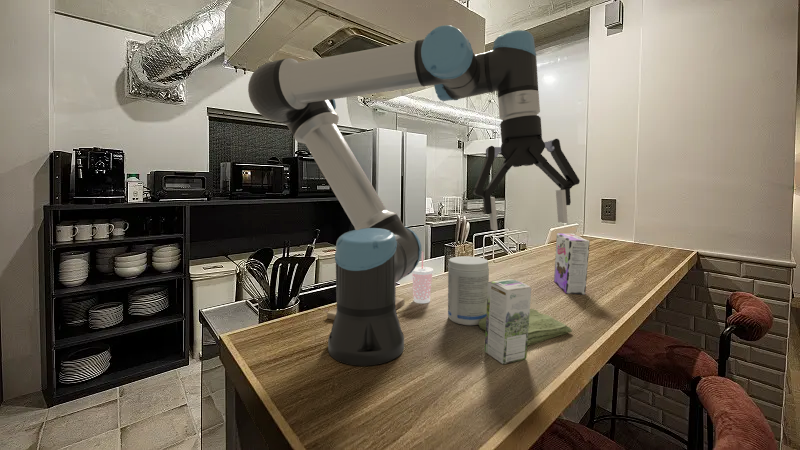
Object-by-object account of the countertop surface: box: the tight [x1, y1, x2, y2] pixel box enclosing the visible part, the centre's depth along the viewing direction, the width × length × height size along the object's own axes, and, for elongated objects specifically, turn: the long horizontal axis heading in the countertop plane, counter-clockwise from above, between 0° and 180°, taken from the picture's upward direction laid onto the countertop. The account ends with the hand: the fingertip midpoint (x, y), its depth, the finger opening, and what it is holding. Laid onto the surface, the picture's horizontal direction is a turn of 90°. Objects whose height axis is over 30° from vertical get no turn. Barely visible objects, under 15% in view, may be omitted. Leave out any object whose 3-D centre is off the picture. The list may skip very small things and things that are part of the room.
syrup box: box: [484, 278, 532, 365], centre depth 70 cm, size 6×6×14 cm
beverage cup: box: [411, 251, 434, 304], centre depth 102 cm, size 6×6×14 cm
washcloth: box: [477, 308, 573, 346], centre depth 83 cm, size 13×18×3 cm
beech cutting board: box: [326, 296, 405, 321], centre depth 94 cm, size 18×12×2 cm, turn 153°
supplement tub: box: [447, 255, 490, 326], centre depth 88 cm, size 10×10×15 cm
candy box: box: [553, 232, 591, 296], centre depth 115 cm, size 14×6×16 cm, turn 172°
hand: (528, 226), depth 73 cm, fingers open, 13 cm apart
